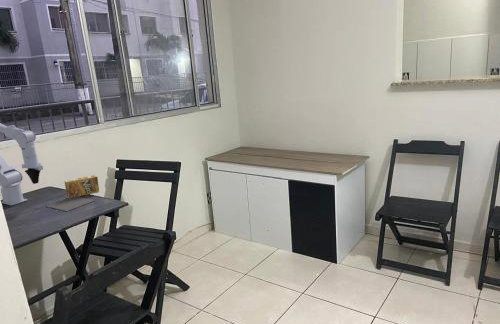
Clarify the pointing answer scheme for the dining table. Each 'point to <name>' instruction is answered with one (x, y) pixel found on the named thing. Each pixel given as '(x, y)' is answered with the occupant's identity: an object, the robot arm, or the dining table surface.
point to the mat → (70, 203)
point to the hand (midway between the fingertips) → (35, 183)
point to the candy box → (81, 186)
